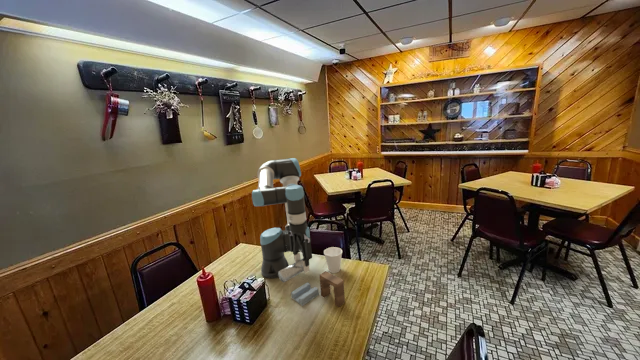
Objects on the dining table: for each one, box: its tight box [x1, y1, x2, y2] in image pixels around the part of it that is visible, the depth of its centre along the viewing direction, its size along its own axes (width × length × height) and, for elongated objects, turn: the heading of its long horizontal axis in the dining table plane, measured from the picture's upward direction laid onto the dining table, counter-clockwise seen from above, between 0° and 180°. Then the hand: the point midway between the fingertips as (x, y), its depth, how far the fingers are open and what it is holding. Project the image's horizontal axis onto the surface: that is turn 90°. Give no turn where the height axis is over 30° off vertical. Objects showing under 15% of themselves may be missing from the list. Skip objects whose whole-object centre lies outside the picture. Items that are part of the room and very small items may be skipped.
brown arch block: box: [319, 270, 346, 308], centre depth 113 cm, size 11×4×11 cm, turn 44°
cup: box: [323, 246, 343, 274], centre depth 135 cm, size 10×10×11 cm
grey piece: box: [278, 257, 304, 283], centre depth 111 cm, size 13×5×5 cm, turn 133°
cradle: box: [290, 282, 320, 307], centre depth 117 cm, size 8×10×3 cm
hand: (302, 269), depth 114 cm, fingers closed on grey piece, 5 cm apart
